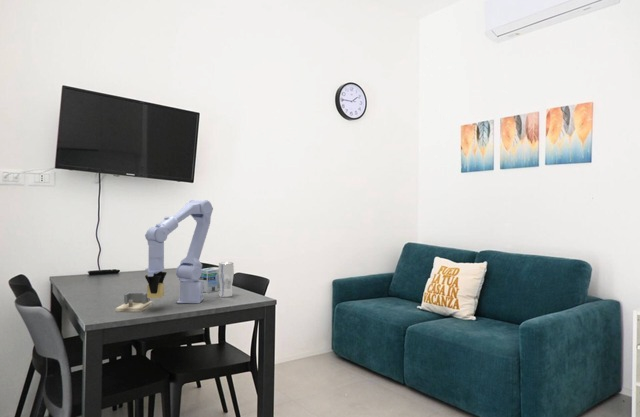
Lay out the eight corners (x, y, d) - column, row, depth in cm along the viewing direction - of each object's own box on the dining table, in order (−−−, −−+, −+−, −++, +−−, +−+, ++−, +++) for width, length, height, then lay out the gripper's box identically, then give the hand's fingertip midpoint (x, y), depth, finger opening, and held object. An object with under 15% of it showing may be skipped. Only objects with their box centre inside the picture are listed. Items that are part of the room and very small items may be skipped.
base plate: (152, 304, 182) (152, 295, 182) (141, 311, 169) (141, 301, 169) (127, 304, 181) (128, 295, 181) (115, 311, 168) (115, 301, 168)
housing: (149, 300, 181) (149, 292, 181) (145, 303, 176) (145, 294, 176) (127, 300, 181) (127, 292, 181) (122, 303, 176) (122, 294, 176)
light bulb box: (207, 293, 206) (207, 270, 206) (197, 291, 210) (198, 269, 210) (224, 289, 215) (224, 267, 215) (214, 288, 219) (214, 266, 219)
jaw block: (164, 295, 176) (164, 283, 176) (160, 298, 171) (160, 285, 171) (151, 295, 175) (151, 283, 175) (147, 298, 170) (147, 285, 170)
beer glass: (229, 297, 196) (230, 264, 196) (215, 296, 198) (215, 263, 198) (235, 294, 203) (236, 262, 203) (221, 294, 204) (222, 262, 204)
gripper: (151, 255, 180) (151, 288, 180) (139, 259, 165) (139, 295, 166) (169, 255, 180) (169, 288, 180) (158, 259, 166) (158, 295, 166)
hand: (156, 291), depth 173 cm, fingers closed on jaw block, 5 cm apart
